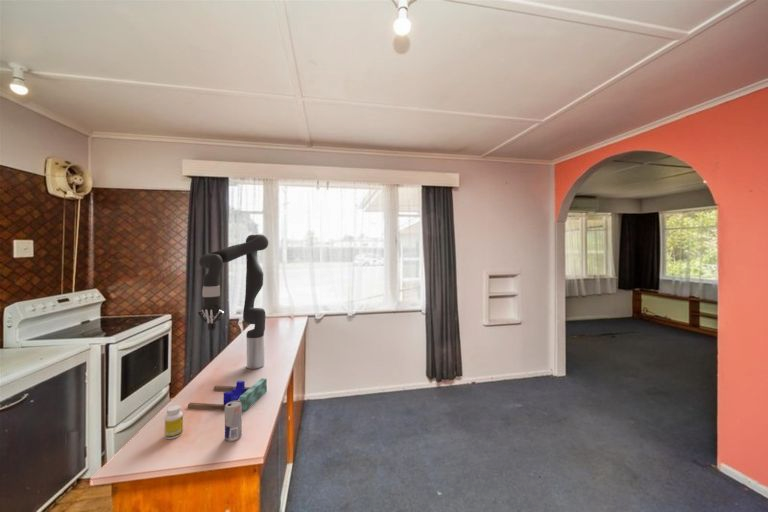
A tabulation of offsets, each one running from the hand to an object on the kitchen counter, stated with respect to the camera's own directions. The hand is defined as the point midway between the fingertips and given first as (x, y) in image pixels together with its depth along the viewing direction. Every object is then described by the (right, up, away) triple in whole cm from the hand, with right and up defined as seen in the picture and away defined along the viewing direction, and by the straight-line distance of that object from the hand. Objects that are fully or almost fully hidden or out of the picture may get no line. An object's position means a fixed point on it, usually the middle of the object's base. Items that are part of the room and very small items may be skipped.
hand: (211, 330), depth 149 cm
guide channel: (+15, -27, -13) cm, 34 cm away
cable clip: (+17, -28, -14) cm, 35 cm away
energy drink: (+31, -28, -41) cm, 58 cm away
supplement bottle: (+9, -28, -40) cm, 49 cm away
